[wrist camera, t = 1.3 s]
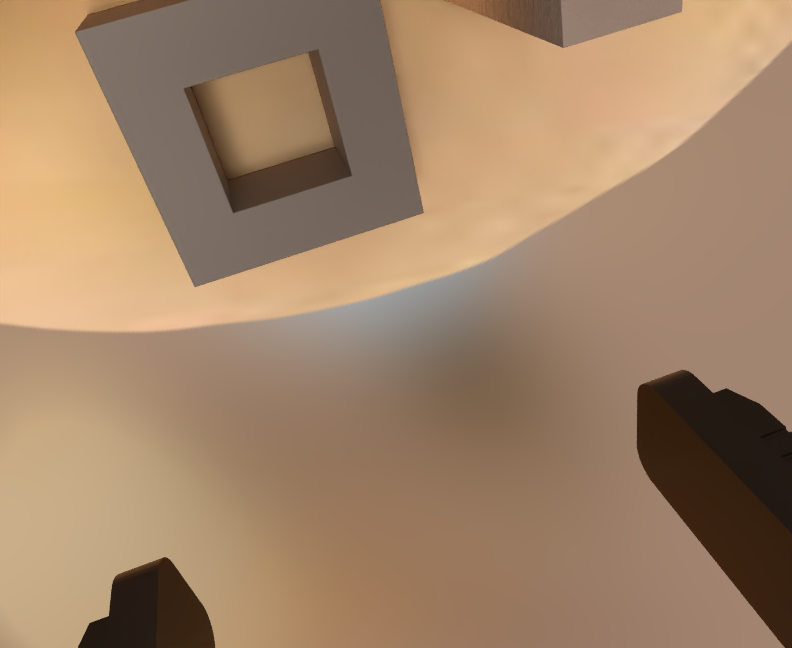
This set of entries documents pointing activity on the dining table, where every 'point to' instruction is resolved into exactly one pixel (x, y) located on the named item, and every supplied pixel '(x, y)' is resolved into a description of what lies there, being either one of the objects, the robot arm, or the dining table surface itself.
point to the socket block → (275, 186)
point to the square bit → (571, 16)
